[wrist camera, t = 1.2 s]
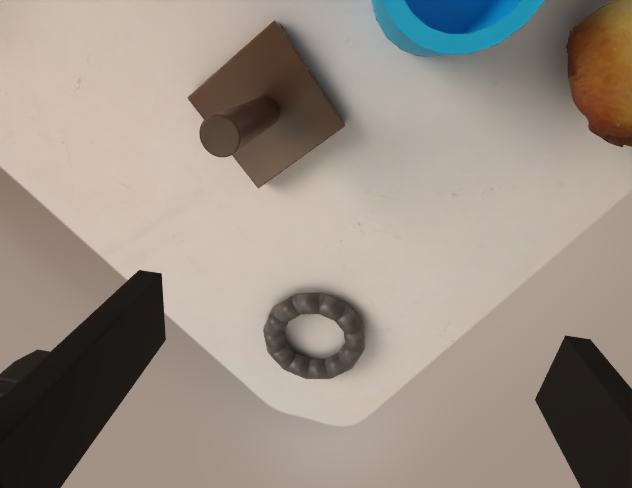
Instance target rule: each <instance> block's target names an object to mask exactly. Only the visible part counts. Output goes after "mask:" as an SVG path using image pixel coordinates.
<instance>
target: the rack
mask: <svg viewBox="0 0 632 488" xmlns="http://www.w3.org/2000/svg"><path fill="white" fill-rule="evenodd" d="M188 99H189V101H190V102H191V103H192V105H193V106H194V107H195V108H196V110H197V111H198V112H199V113H200V115H201V116H202V117H203V119H204V121H203V122H202V124H201V127H200V139H201V142H202V144H203V146H204V148H205V149H206V150H207V151H208V152H209V153H211V154H212V155H214V156H217V157H228V156H231V155H233V157H234V158H235V159H236V161H237V162H238V163H239V164H240V166H241V167H242V168H243V169H244V171H245V172H246V173H247V175H248V176H249V177H250V178H251V180H252V181H253V182H254V183H255V185H256V186H257V187H258V188H259V187H261V186H262V185H264V184H265V183H266V182H268V181H269V180H271V179H272V178H273V177H275V176H276V175H278V174H279V173H280V172H282V171H283V170H284V169H286V168H287V167H289V166H290V165H291V164H293V163H294V162H296V161H297V160H298V159H300V158H301V157H303V156H304V155H305V154H307V153H308V152H309V151H311V150H312V149H314V148H315V147H316V146H318V145H319V144H321V143H322V142H323V141H325V140H326V139H328V138H329V137H330V136H332V135H333V134H334V133H336V132H337V131H339V130H340V129H341V128H343V127H344V126H345V121H344V120H343V118H342V117H341V115H340V114H339V112H338V111H337V109H336V108H335V106H334V105H333V103H332V102H331V100H330V99H329V97H328V96H327V94H326V93H325V91H324V90H323V88H322V87H321V85H320V84H319V82H318V81H317V79H316V78H315V76H314V75H313V73H312V72H311V70H310V69H309V67H308V66H307V64H306V63H305V61H304V60H303V58H302V57H301V55H300V54H299V52H298V51H297V49H296V48H295V46H294V45H293V43H292V42H291V40H290V39H289V37H288V36H287V34H286V33H285V31H284V30H283V28H282V27H281V25H280V24H279V23H278V22H276V21H273V22H272V23H271V24H270V25H269V26H268V27H267V28H265V29H264V30H263V31H262V32H261V33H260V34H259V35H258V36H256V37H255V38H254V39H253V40H252V41H251V42H250V43H249V44H247V45H246V46H245V47H244V48H243V49H242V50H241V51H239V52H238V53H237V54H236V55H235V56H234V57H233V58H232V59H230V60H229V61H228V62H227V63H226V64H225V65H224V66H223V67H221V68H220V69H219V70H218V71H217V72H216V73H215V74H214V75H212V76H211V77H210V78H209V79H208V80H207V81H206V82H205V83H203V84H202V85H201V86H200V87H199V88H198V89H197V90H195V91H194V92H193V93H192V94H191V95H190V96H189V97H188Z"/></svg>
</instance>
